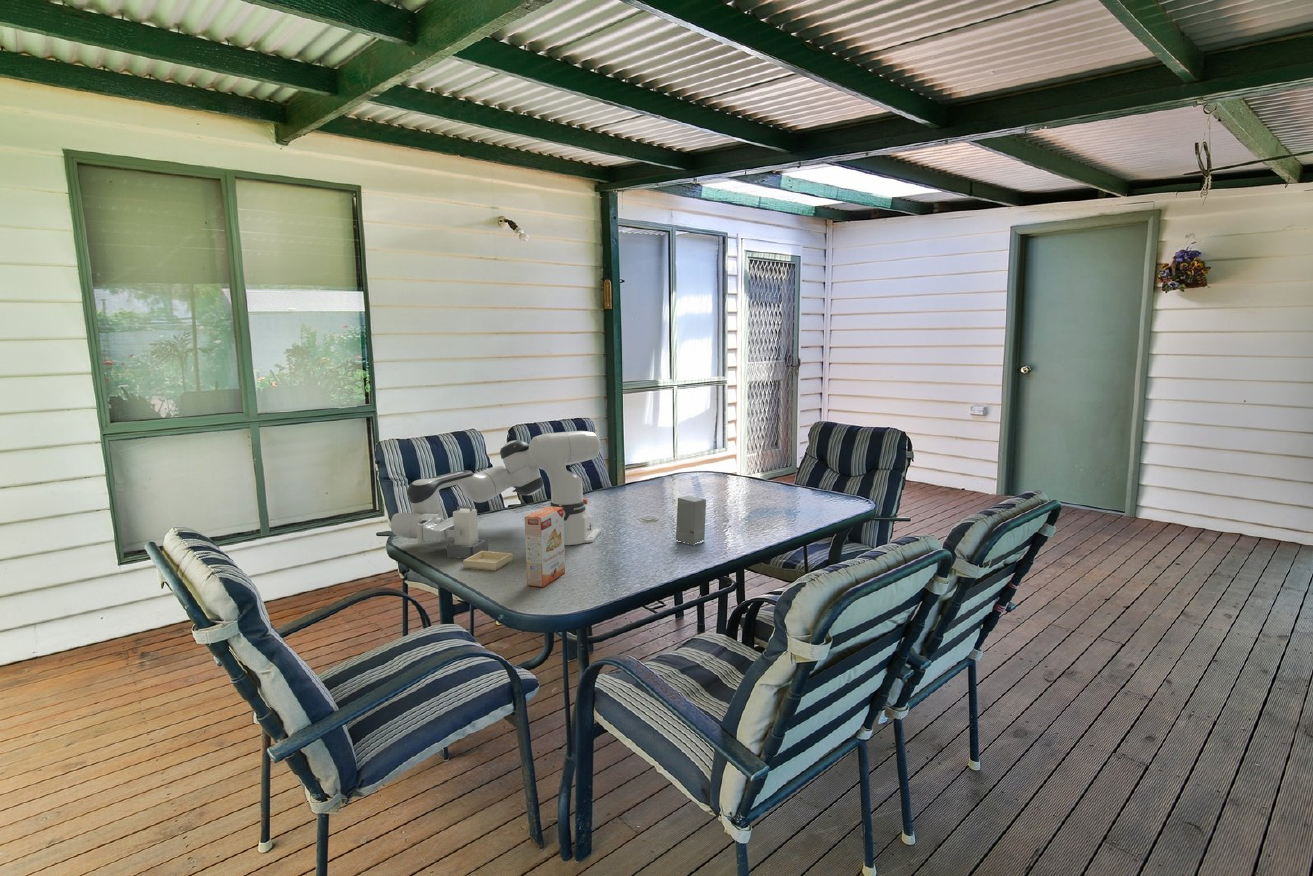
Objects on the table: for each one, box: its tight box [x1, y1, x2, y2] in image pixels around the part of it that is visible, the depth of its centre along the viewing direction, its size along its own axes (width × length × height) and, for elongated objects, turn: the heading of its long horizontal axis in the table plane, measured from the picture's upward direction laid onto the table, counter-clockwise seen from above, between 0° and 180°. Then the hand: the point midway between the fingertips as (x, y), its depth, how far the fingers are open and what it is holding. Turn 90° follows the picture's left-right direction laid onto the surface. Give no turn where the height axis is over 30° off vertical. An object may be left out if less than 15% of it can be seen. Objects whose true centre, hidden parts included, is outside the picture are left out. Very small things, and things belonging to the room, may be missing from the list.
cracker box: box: [524, 505, 566, 588], centre depth 210 cm, size 14×6×21 cm, turn 160°
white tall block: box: [452, 505, 480, 546], centre depth 238 cm, size 5×6×16 cm
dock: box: [446, 538, 490, 559], centre depth 239 cm, size 9×10×4 cm
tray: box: [462, 550, 514, 572], centre depth 227 cm, size 11×12×2 cm
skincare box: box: [675, 495, 707, 545], centre depth 247 cm, size 8×7×16 cm
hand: (468, 529), depth 237 cm, fingers open, 7 cm apart
